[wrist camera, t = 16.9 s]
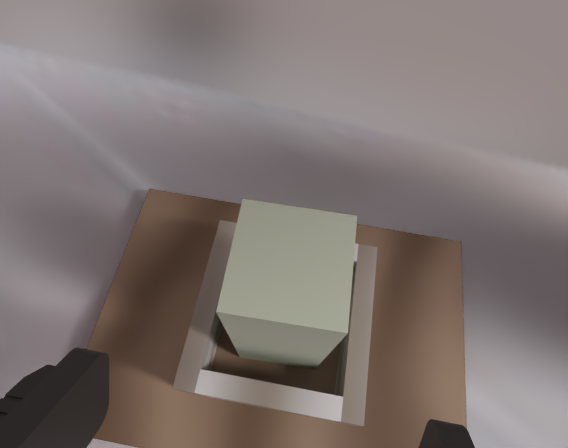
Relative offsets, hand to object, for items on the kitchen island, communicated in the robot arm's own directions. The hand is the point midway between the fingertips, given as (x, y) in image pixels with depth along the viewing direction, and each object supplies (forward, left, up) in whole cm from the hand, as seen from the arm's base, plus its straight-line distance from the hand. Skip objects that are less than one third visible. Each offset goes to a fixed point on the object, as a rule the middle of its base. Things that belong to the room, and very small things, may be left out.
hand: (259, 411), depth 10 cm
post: (0, -4, -11) cm, 12 cm away
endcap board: (0, -5, -12) cm, 13 cm away
